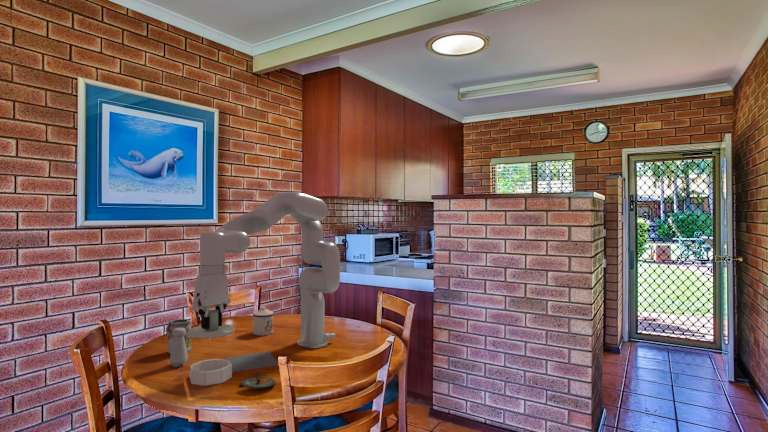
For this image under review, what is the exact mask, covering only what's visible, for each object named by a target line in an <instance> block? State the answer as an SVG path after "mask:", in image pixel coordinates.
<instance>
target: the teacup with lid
mask: <svg viewBox="0 0 768 432" xmlns="http://www.w3.org/2000/svg"><path fill="white" fill-rule="evenodd" d="M274 315H275V313H274V311H272V310H269V309H267V308H266V306H261V307H260V308H259V310H256V311H254V312H253V313H252V317H253V318H252V334H253V335H255V336H258V337H259V336H261V337H262V336H269V335H272V334H273V333H274Z"/></svg>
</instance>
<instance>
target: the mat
mask: <svg viewBox="0 0 768 432" xmlns="http://www.w3.org/2000/svg"><path fill="white" fill-rule="evenodd" d="M224 359H225V360H230V362H231V364H232V373H237V372H243V371H249V370H256V369H261V368H268V367H273V366H274V367H275V366H279V365H278V362H277V361H278V360H277V359H276V358H275V357H274V356H273V355H272V353H271V352H270V351H263V352H256V353H249V354H242V355H241V354H240V355H235V356H228V357H224Z"/></svg>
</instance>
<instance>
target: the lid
mask: <svg viewBox="0 0 768 432" xmlns="http://www.w3.org/2000/svg"><path fill="white" fill-rule="evenodd" d="M262 380H263V381H266V382H263V383H261V381H262ZM276 382H277V381H276V380H275V379H274V378H271V377H266V376H265V377H264V376H262V375H261V373H260V372H257V373H256V377H248V378H246V379H243V380H241V381H240V385H241V386H243V387H244V388H248V389H251V390H258V389H266V388H269V387H272V386H275V385H276Z"/></svg>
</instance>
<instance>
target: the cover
mask: <svg viewBox="0 0 768 432" xmlns="http://www.w3.org/2000/svg"><path fill="white" fill-rule="evenodd" d="M208 317H210V328H209V329H208V330H206V329H202V328H201V325H198V326H194V327H191V329H190V330H188V336H190V337H191V338H193V339H214V338H221V337H226V336H230V335H232V334H233V333H235V331H236V329H235V328H236V327H235V326H233V325H231V324H225V323H222V326H218V317H219V310H215V309H209V313H208Z"/></svg>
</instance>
